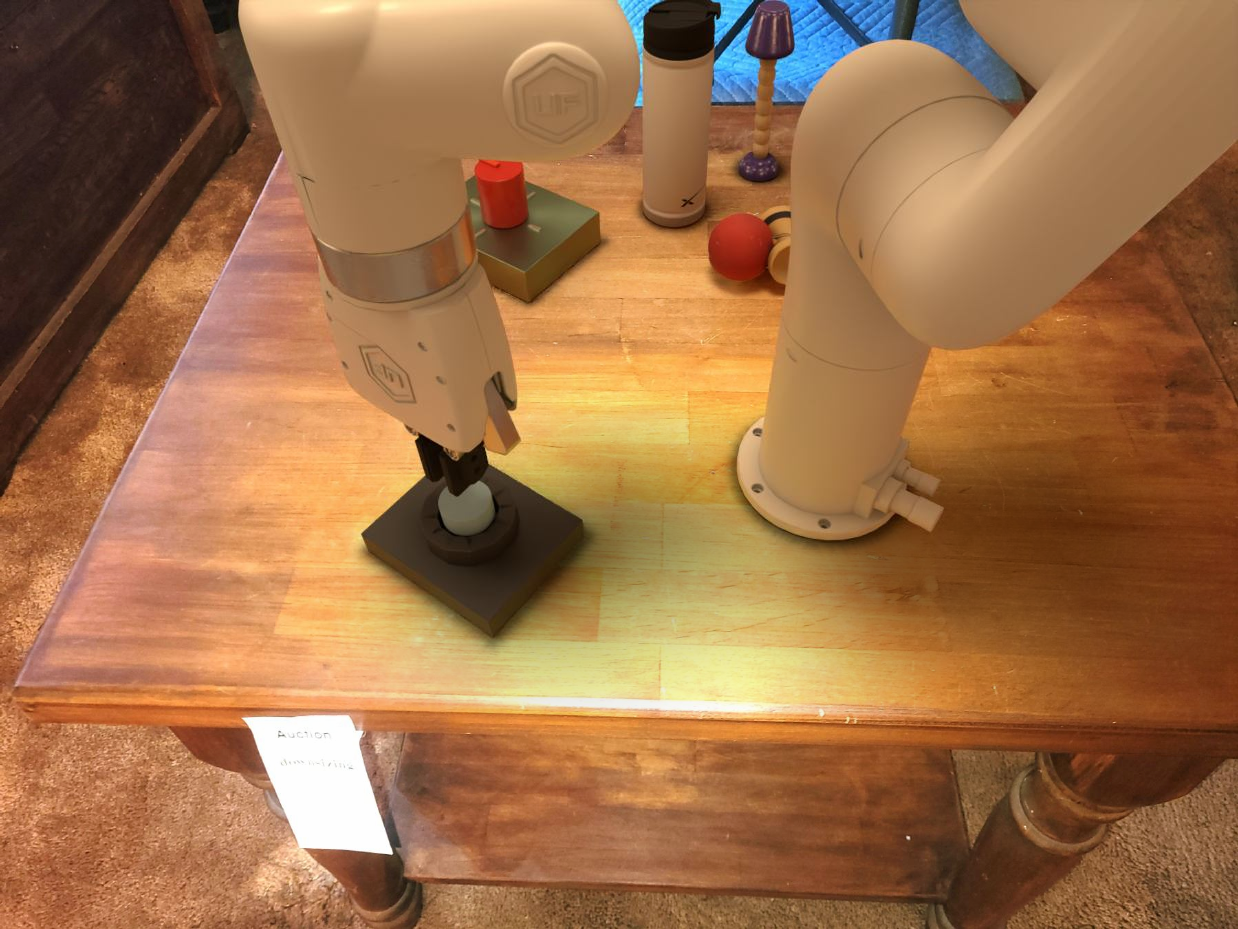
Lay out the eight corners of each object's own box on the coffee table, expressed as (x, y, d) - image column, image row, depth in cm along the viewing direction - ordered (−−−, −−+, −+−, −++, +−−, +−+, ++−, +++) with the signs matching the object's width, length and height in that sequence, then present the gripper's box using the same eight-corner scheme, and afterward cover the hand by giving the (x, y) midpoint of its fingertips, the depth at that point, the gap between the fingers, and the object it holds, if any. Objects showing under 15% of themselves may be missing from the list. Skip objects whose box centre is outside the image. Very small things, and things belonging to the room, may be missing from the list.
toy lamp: (726, 172, 93) (739, 9, 80) (748, 152, 95) (764, -10, 82) (766, 186, 91) (786, 21, 78) (787, 165, 93) (810, 2, 80)
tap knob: (538, 211, 83) (532, 160, 79) (507, 234, 81) (500, 183, 77) (503, 195, 85) (496, 145, 81) (472, 218, 82) (463, 167, 78)
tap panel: (601, 242, 85) (599, 210, 83) (528, 303, 80) (524, 270, 77) (493, 195, 91) (488, 163, 88) (418, 249, 85) (410, 217, 83)
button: (505, 509, 61) (502, 494, 59) (470, 545, 59) (466, 530, 58) (467, 486, 62) (463, 470, 61) (431, 519, 60) (427, 504, 59)
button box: (584, 537, 63) (581, 504, 60) (493, 638, 58) (484, 608, 55) (462, 463, 68) (454, 429, 65) (368, 551, 63) (353, 518, 60)
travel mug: (703, 231, 86) (716, 23, 71) (637, 224, 87) (636, 18, 72) (712, 195, 90) (725, -10, 75) (648, 189, 91) (649, -15, 75)
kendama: (875, 244, 86) (697, 236, 84) (902, 195, 81) (712, 185, 78) (892, 306, 83) (706, 299, 80) (921, 259, 77) (722, 251, 74)
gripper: (233, 222, 44) (333, 457, 58) (461, 344, 38) (511, 573, 52) (345, 154, 48) (413, 390, 62) (569, 255, 42) (587, 491, 56)
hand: (458, 473), depth 57 cm, fingers closed
